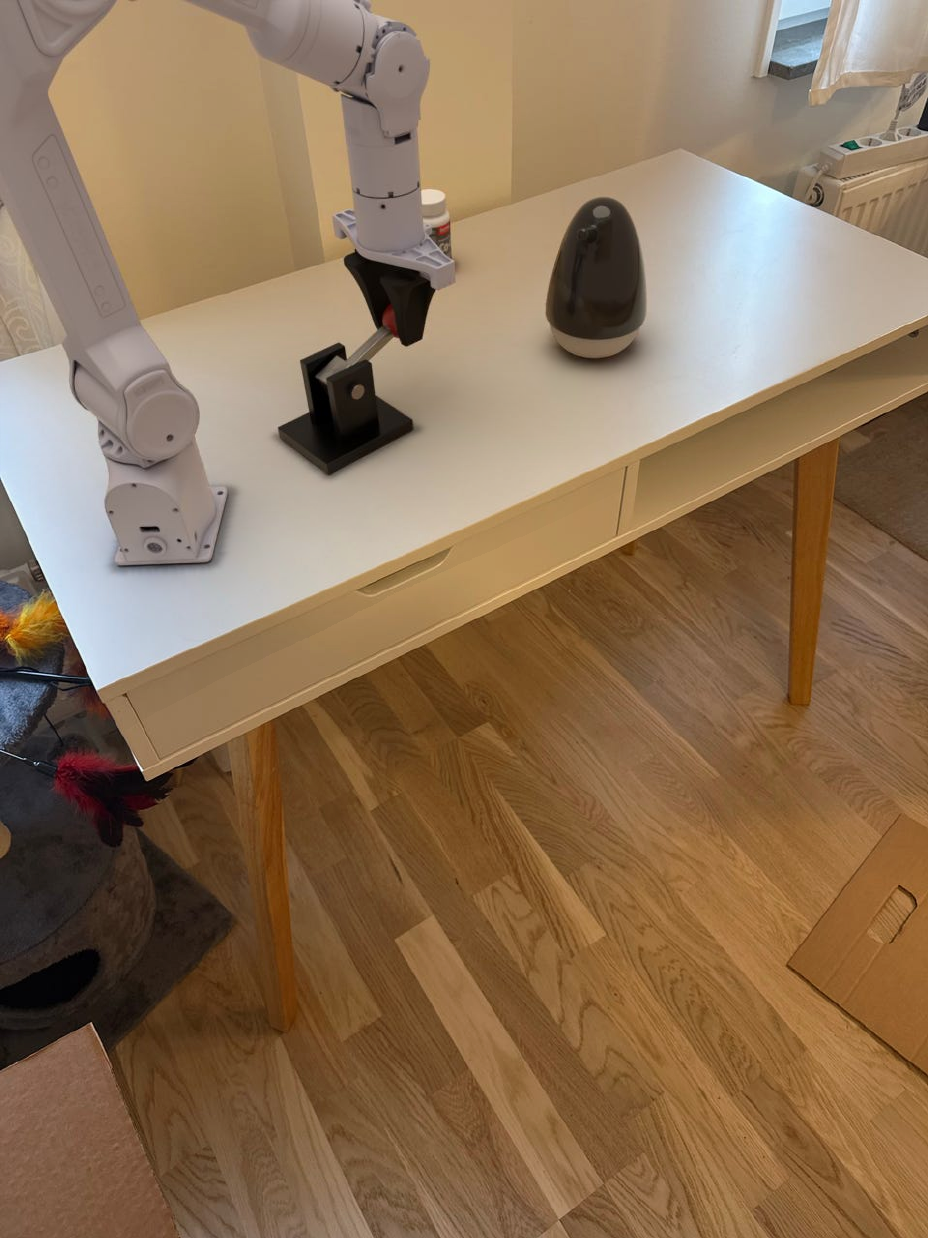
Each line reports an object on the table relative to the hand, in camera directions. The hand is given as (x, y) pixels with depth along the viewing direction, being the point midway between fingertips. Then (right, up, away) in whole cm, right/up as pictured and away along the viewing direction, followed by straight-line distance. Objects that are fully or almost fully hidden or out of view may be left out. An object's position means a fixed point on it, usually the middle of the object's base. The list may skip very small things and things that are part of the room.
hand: (399, 334), depth 86 cm
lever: (-2, -2, 0) cm, 3 cm away
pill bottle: (+2, +15, +25) cm, 29 cm away
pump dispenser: (+20, +2, +12) cm, 23 cm away
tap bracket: (-5, -9, +2) cm, 10 cm away
